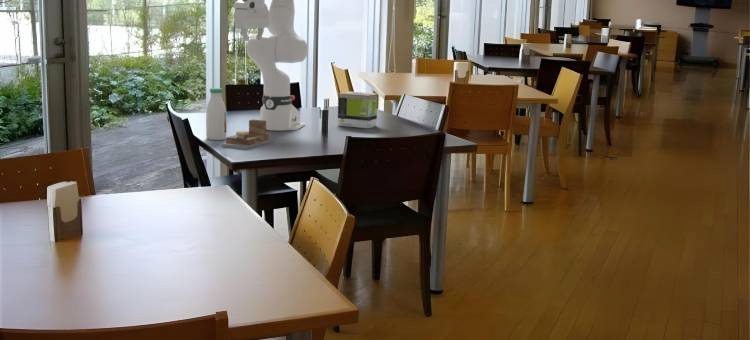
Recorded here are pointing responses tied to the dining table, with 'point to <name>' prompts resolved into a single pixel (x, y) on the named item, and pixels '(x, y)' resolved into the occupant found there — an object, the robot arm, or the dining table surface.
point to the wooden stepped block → (251, 134)
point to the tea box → (357, 109)
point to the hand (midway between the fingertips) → (252, 40)
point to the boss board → (239, 146)
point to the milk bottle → (216, 116)
